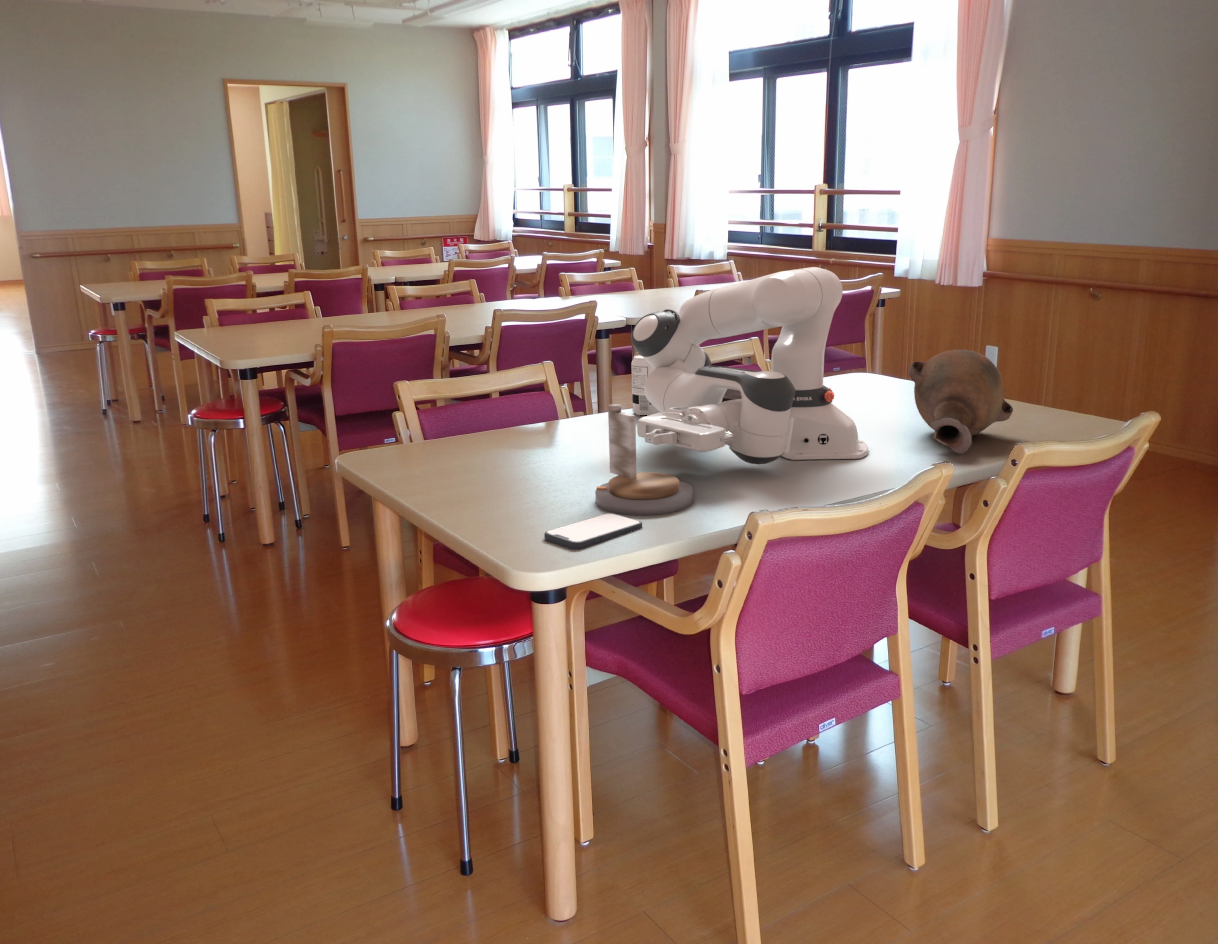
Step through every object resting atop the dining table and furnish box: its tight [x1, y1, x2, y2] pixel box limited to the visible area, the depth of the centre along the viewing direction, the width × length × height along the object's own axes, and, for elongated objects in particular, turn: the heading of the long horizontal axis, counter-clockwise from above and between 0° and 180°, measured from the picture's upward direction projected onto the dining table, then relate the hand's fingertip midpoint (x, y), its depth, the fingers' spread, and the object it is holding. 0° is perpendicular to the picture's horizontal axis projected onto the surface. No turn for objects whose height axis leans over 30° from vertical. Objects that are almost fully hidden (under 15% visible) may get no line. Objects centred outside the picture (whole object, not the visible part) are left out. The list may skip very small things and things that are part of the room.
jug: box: [907, 349, 1014, 455], centre depth 219 cm, size 20×20×30 cm
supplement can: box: [630, 354, 661, 416], centre depth 258 cm, size 8×8×15 cm
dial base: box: [594, 480, 694, 516], centre depth 184 cm, size 18×18×2 cm
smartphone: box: [543, 512, 643, 551], centre depth 167 cm, size 9×2×16 cm
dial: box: [607, 403, 680, 499], centre depth 182 cm, size 16×13×15 cm
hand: (649, 439), depth 190 cm, fingers closed
